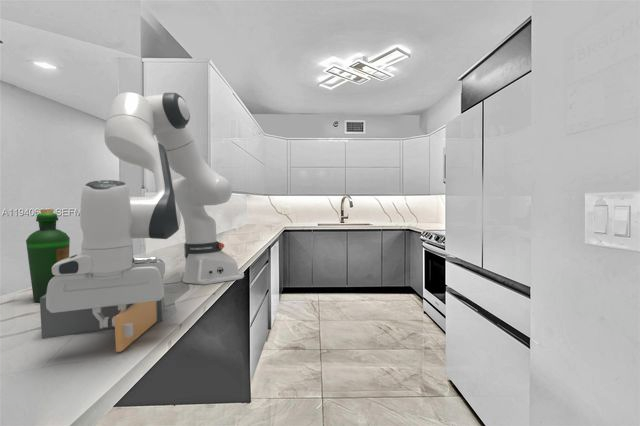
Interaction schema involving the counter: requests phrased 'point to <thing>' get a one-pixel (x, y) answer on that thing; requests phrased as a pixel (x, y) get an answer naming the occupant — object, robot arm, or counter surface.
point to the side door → (134, 323)
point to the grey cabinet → (79, 319)
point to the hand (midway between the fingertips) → (110, 326)
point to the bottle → (45, 251)
